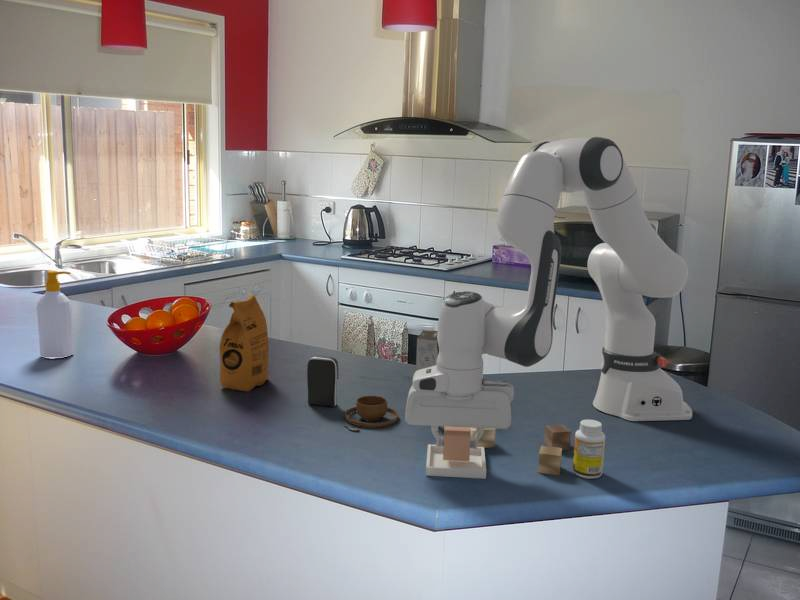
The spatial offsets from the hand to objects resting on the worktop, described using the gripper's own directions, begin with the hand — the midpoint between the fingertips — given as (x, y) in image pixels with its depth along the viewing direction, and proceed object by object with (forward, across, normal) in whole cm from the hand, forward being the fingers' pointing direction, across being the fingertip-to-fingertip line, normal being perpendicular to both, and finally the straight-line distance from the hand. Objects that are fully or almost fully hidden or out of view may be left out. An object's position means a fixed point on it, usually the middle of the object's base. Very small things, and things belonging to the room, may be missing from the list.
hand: (456, 447), depth 149 cm
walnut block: (+4, -21, -12) cm, 24 cm away
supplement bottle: (+4, -25, +1) cm, 25 cm away
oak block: (+4, -18, 0) cm, 18 cm away
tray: (+4, 0, 0) cm, 4 cm away
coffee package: (+4, +53, -43) cm, 68 cm away
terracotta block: (+2, 0, 0) cm, 2 cm away
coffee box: (+4, +6, -38) cm, 39 cm away
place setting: (+4, +16, -20) cm, 26 cm away
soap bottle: (+4, +110, -60) cm, 125 cm away
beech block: (+4, -5, -11) cm, 13 cm away
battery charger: (+4, +31, -31) cm, 44 cm away
